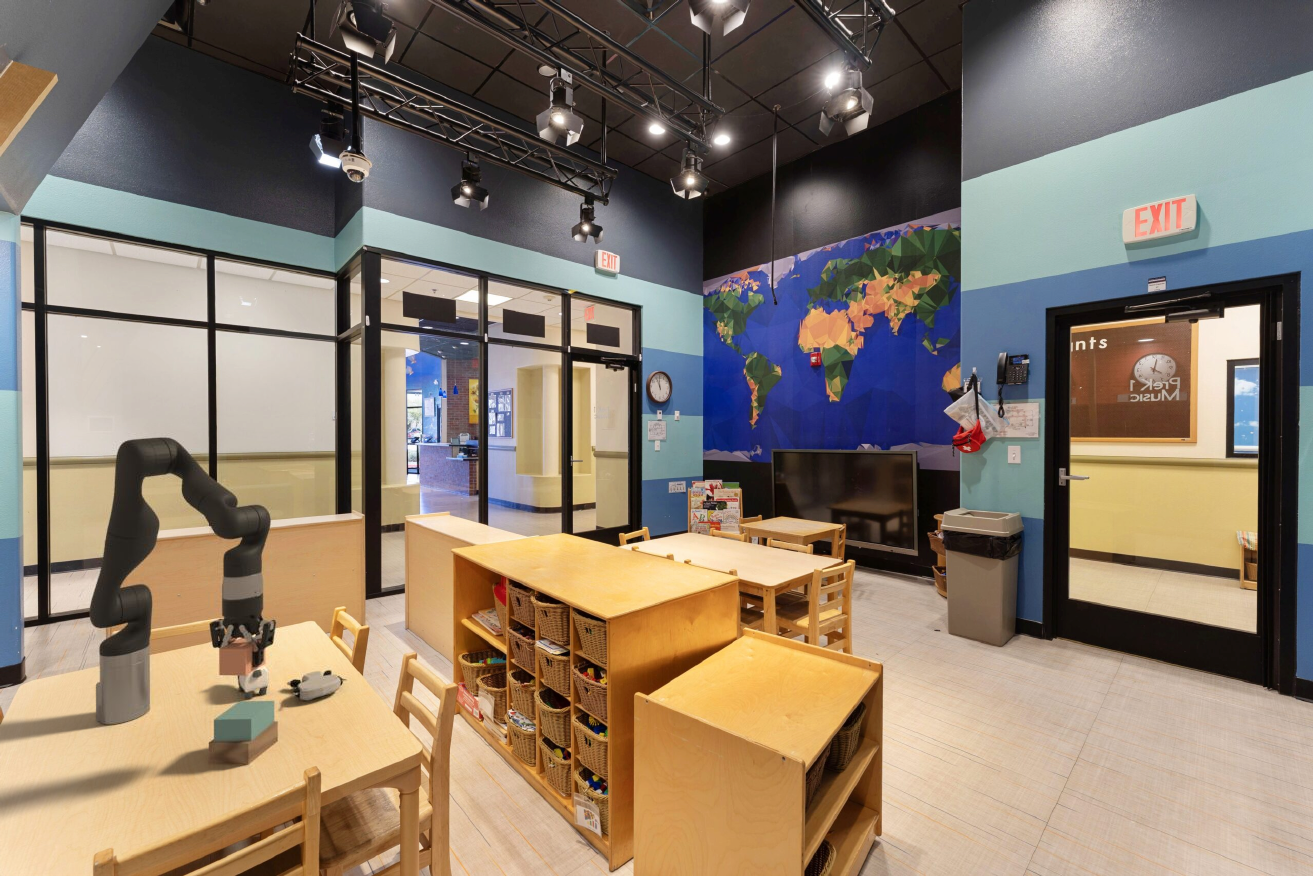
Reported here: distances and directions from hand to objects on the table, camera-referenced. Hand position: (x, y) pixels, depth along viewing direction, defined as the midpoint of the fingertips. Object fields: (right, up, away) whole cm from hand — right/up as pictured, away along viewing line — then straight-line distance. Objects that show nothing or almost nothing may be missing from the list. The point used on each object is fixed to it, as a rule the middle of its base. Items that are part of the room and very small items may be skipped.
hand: (243, 665), depth 124 cm
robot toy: (-1, -20, +29) cm, 35 cm away
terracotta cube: (0, -1, 0) cm, 1 cm away
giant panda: (-20, -20, +29) cm, 40 cm away
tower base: (0, -21, +1) cm, 21 cm away
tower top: (0, -16, +1) cm, 16 cm away
